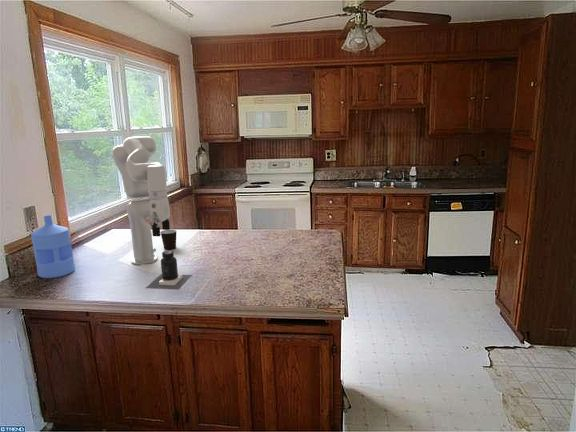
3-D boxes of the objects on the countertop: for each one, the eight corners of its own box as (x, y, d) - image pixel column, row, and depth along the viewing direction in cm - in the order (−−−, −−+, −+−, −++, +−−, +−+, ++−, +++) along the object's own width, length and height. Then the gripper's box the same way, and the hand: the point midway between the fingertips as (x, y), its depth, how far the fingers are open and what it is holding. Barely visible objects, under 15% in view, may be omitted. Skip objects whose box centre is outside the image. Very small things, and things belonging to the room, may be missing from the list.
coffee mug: (173, 251, 218) (172, 233, 216) (159, 250, 220) (157, 233, 217) (182, 244, 230) (181, 228, 227) (168, 244, 231) (167, 227, 229)
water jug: (35, 272, 191) (25, 216, 185) (71, 264, 201) (62, 210, 194) (41, 281, 180) (30, 222, 173) (78, 272, 189) (70, 216, 183)
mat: (161, 275, 185) (161, 273, 184) (192, 276, 183) (192, 274, 183) (145, 289, 169) (145, 288, 169) (178, 290, 167) (178, 289, 167)
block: (167, 273, 180) (182, 274, 179) (168, 277, 180) (182, 277, 180) (159, 281, 171) (174, 282, 171) (159, 285, 172) (174, 285, 171)
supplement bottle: (181, 277, 176) (179, 251, 173) (167, 282, 171) (165, 255, 168) (172, 273, 180) (170, 248, 177) (159, 278, 175) (156, 252, 172)
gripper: (157, 198, 159) (161, 239, 163) (174, 190, 176) (177, 227, 180) (140, 198, 160) (144, 238, 164) (158, 190, 177) (161, 226, 181)
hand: (161, 232), depth 172 cm, fingers open, 9 cm apart
